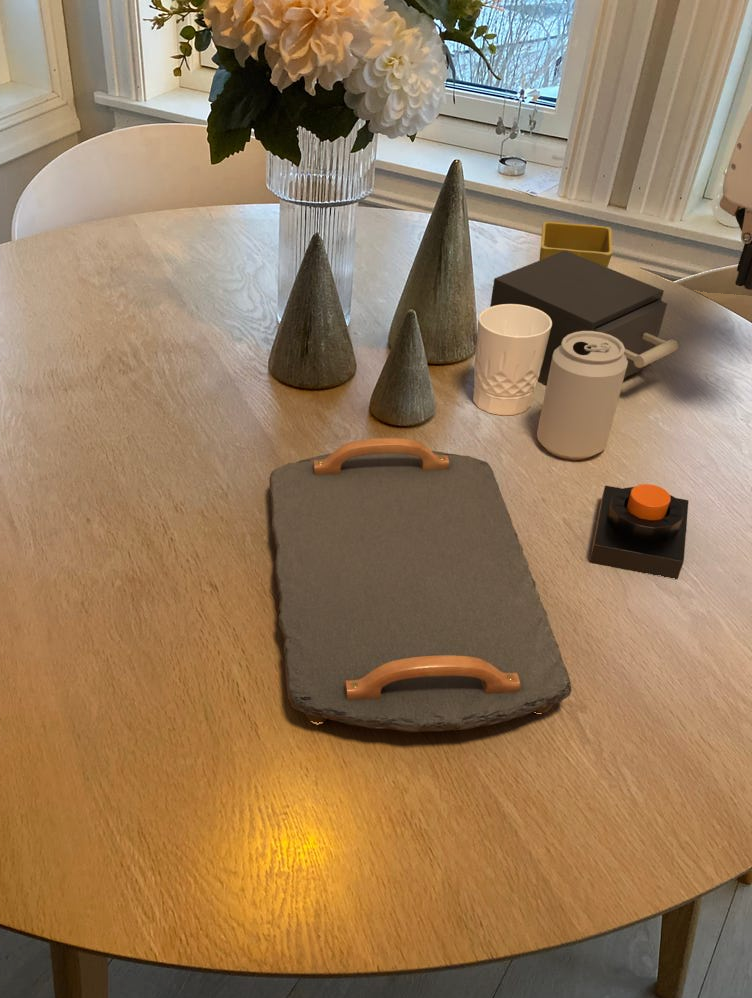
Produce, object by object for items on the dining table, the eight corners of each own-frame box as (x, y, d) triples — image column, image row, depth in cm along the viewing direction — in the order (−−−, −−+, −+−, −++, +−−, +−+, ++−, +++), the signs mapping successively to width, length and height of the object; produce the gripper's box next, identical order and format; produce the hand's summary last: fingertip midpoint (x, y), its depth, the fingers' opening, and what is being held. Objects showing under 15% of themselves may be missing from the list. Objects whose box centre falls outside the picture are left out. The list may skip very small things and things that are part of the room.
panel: (600, 503, 101) (609, 470, 98) (682, 518, 99) (693, 484, 96) (589, 562, 94) (598, 529, 91) (677, 580, 92) (689, 546, 89)
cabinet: (643, 366, 120) (664, 290, 114) (575, 400, 115) (593, 322, 108) (550, 323, 129) (564, 250, 122) (483, 353, 123) (494, 278, 117)
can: (535, 423, 112) (555, 323, 103) (604, 429, 110) (630, 329, 102) (534, 460, 106) (555, 357, 98) (606, 467, 105) (634, 364, 97)
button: (628, 496, 96) (632, 481, 94) (667, 503, 95) (672, 487, 93) (624, 517, 93) (629, 502, 92) (664, 524, 92) (669, 509, 91)
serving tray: (581, 744, 78) (598, 690, 74) (287, 758, 77) (287, 704, 73) (481, 465, 106) (489, 414, 101) (264, 474, 105) (263, 423, 101)
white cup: (536, 421, 112) (553, 339, 105) (466, 416, 113) (477, 334, 106) (535, 386, 117) (551, 306, 110) (468, 381, 118) (479, 301, 112)
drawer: (680, 378, 117) (699, 316, 111) (618, 411, 112) (635, 347, 106) (562, 324, 127) (575, 264, 121) (501, 351, 122) (511, 290, 116)
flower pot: (597, 292, 135) (612, 225, 129) (597, 321, 129) (613, 253, 123) (531, 286, 137) (543, 220, 130) (528, 315, 131) (540, 247, 124)
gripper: (926, 88, 83) (842, 298, 95) (765, 52, 91) (708, 249, 104) (877, 107, 79) (798, 322, 92) (716, 68, 88) (664, 269, 101)
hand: (751, 283), depth 98 cm, fingers closed
